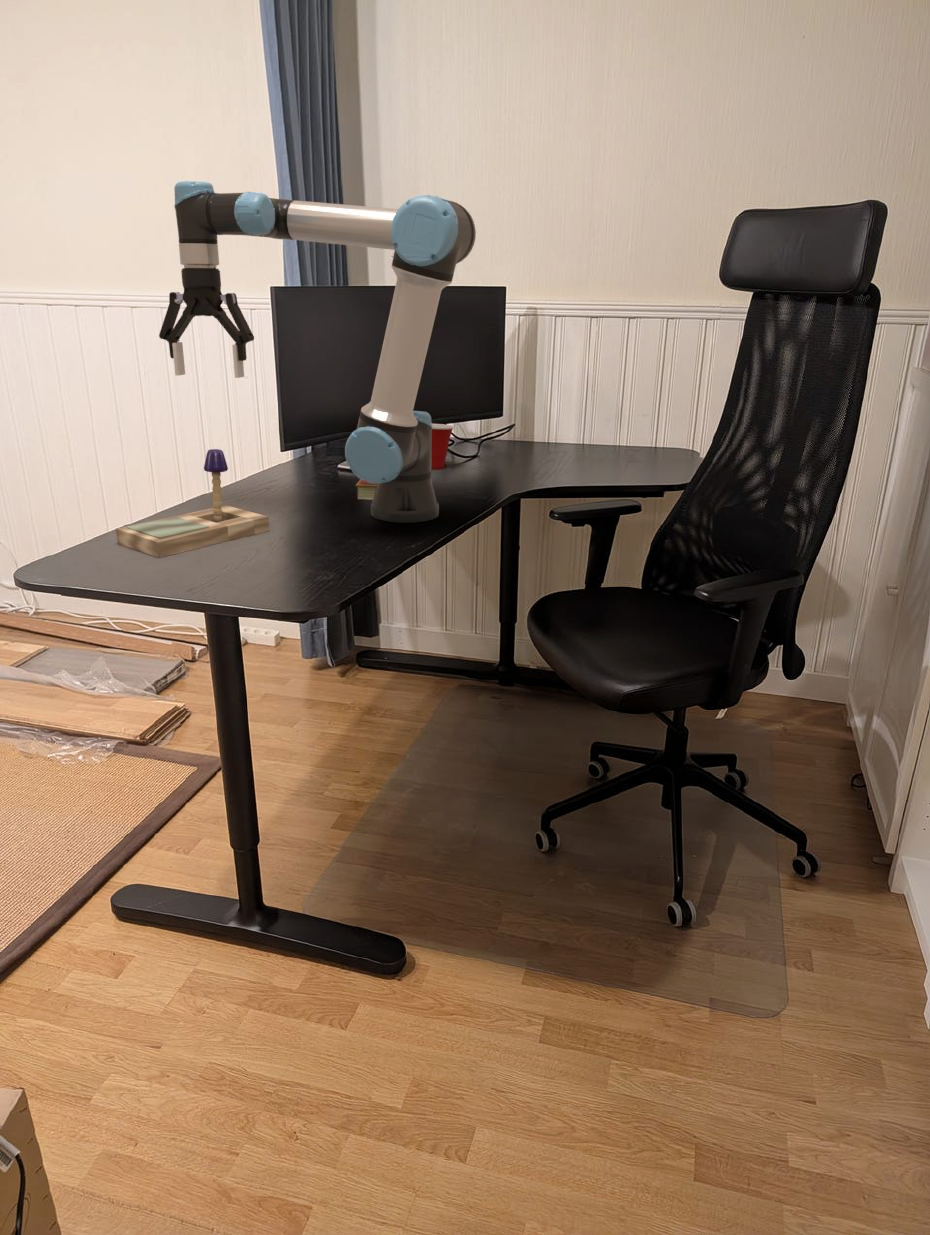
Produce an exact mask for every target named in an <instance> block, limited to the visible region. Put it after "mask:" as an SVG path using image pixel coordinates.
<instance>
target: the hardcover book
mask: <svg viewBox="0 0 930 1235" xmlns="http://www.w3.org/2000/svg"><path fill="white" fill-rule="evenodd" d="M355 487H357V500H369V501H373V499H374V494H375V490H376V487H377V484H372V483H368V482H365V481H363V480H361V479H360V478H359V481H357V483H356V484H355Z"/></svg>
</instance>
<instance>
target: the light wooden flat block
mask: <svg viewBox="0 0 930 1235" xmlns="http://www.w3.org/2000/svg"><path fill="white" fill-rule="evenodd" d="M213 509H214V507H211V508H206V509H202V510H197V511H193V512H188V513H182V514H178V515H174V516H169V517H164V518H160V519H155V520H150V521H145V522H140V523H135V524H131V525H127V526H123V527H117V528H115V532H116V533H115V534H116V542H117V544H119V545H121V546H124V547H127V548H129V549H132V550H135V551H138V552H141V553H144V554H147V555H149V556H153V557H155V558H159V559H160V558H165V557H167V556H168V557H170V556H172V555H176V554H181V553H184V552H189V551H193V550H197V549H201V548H205V547H208V546H212V545H216V544H221V543H225V542H229V541H233V540H236V539H238V540H239V539H241V538H245V537H250V536H254V535H257V534H261V533H265V532H270V520H269V516H268V515H264V514H260V513H256V512H252V511H248V510H246V509H241V508H237V507H234V506H230V505H222V507H221V509H222V514H221V516H222V521H221V522H217V523H215V522H214V513H213Z"/></svg>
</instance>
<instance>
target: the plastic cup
mask: <svg viewBox="0 0 930 1235" xmlns="http://www.w3.org/2000/svg"><path fill="white" fill-rule="evenodd" d="M431 424H432V449H431V470H441V469H444V468H445V466H446V459H447V455H448V450H449V443H450V438H451V434H452V431H453V430H454V429H455V426H453V425H451V424H450V425H449V424H443V423H431Z"/></svg>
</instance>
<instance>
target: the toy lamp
mask: <svg viewBox="0 0 930 1235" xmlns="http://www.w3.org/2000/svg"><path fill="white" fill-rule="evenodd" d="M203 470H204V471H205V472H208V473H211V477H212V479H211V483H212V488H211V489H212V492H213V494H212V499H213V500H212V501H213V502H212V508H214V509H213V513H214V522H215V523H217V522H221V521H222V516H221V514H222V509H221V507H222V506H223V503H222V498H223V495H222V486H221V483H222V479H221V475H222V474H221V473H225V472H227V471H228V470H229V468H228V463H227V461H226V457H225V454H224V451H223V449H218V448H216V449H215V448H214V449H209V450H207V451H206V456H205V460H204V464H203Z"/></svg>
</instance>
